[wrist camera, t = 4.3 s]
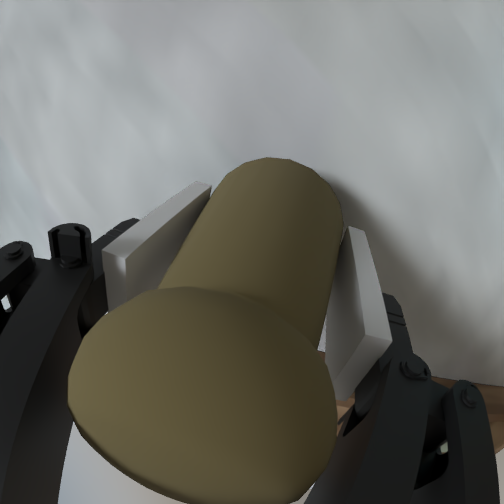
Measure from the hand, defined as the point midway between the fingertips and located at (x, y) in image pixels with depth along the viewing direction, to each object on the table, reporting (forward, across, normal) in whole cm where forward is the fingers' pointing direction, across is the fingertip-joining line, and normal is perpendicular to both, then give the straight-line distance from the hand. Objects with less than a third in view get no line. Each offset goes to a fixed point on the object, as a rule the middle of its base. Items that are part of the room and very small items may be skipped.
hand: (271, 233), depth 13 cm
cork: (+1, 0, 0) cm, 1 cm away
